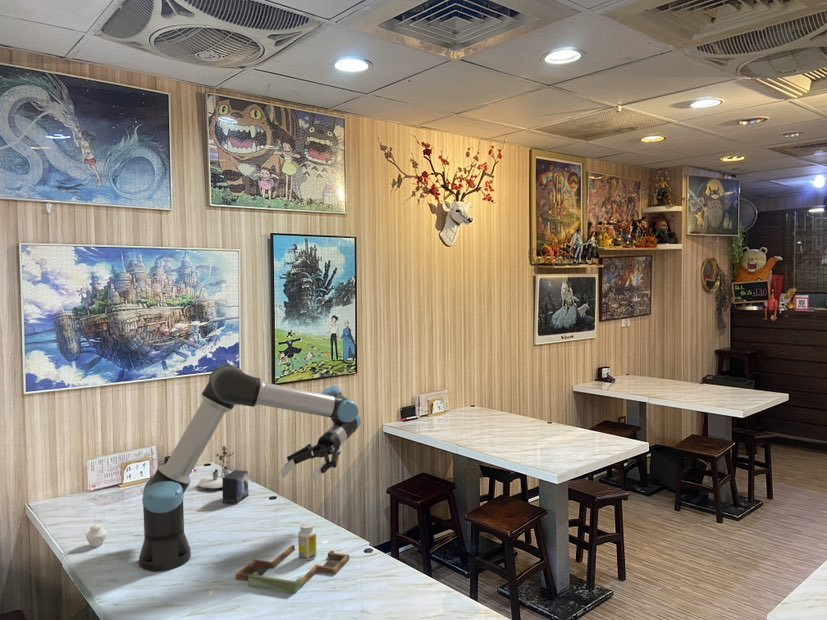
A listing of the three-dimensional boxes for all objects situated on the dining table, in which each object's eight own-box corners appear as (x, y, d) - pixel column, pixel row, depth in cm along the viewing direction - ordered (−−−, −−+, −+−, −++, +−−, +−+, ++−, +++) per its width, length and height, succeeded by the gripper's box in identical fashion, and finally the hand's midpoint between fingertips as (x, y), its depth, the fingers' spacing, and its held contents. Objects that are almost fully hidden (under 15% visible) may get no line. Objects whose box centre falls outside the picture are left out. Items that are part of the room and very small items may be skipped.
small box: (237, 504, 241) (236, 478, 240) (221, 503, 242) (221, 477, 241) (249, 495, 251) (248, 470, 251) (234, 494, 252) (234, 469, 252)
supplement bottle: (317, 552, 196) (316, 521, 196) (316, 560, 191) (315, 528, 190) (299, 553, 196) (298, 522, 195) (297, 561, 190) (297, 529, 190)
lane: (275, 547, 201) (275, 538, 201) (351, 557, 192) (351, 548, 192) (230, 583, 177) (230, 573, 177) (314, 596, 169) (314, 586, 169)
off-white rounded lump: (84, 550, 201) (83, 529, 201) (88, 542, 207) (88, 522, 207) (104, 547, 203) (104, 527, 202) (108, 540, 209) (108, 520, 208)
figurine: (218, 492, 253) (219, 452, 253) (188, 486, 262) (190, 447, 263) (253, 483, 270) (255, 446, 270) (225, 477, 279) (226, 441, 280)
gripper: (363, 451, 216) (331, 488, 199) (307, 447, 228) (272, 481, 211) (358, 432, 214) (325, 468, 196) (301, 429, 226) (266, 463, 208)
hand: (297, 475), depth 203 cm, fingers open, 13 cm apart
